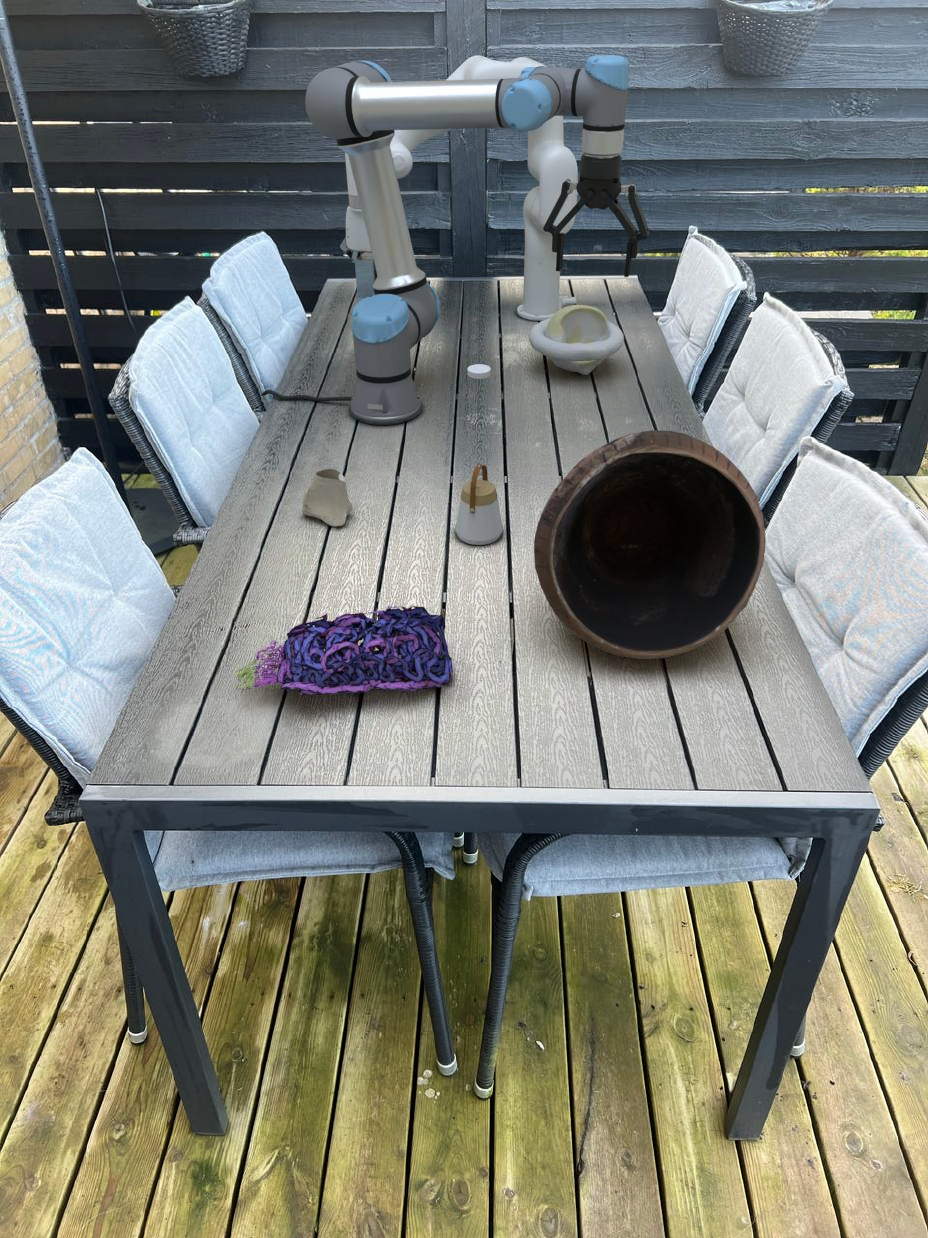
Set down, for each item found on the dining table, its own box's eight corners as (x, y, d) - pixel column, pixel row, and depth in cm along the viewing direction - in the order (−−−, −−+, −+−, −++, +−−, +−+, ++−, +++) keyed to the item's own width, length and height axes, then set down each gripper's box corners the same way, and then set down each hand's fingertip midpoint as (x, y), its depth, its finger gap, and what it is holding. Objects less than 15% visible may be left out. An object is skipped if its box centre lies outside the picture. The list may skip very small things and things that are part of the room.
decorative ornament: (458, 672, 122) (225, 684, 119) (455, 713, 130) (238, 725, 128) (450, 592, 130) (231, 602, 127) (447, 636, 138) (243, 646, 135)
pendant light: (493, 549, 158) (495, 382, 140) (448, 540, 161) (445, 375, 142) (508, 525, 164) (512, 362, 146) (465, 517, 167) (463, 355, 148)
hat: (520, 351, 228) (521, 289, 219) (607, 347, 230) (612, 285, 221) (537, 392, 209) (540, 327, 200) (632, 387, 211) (639, 322, 202)
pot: (569, 390, 148) (614, 390, 119) (739, 473, 153) (822, 494, 124) (483, 572, 154) (505, 616, 125) (649, 647, 159) (708, 705, 130)
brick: (375, 299, 232) (373, 261, 227) (357, 297, 233) (354, 259, 228) (385, 291, 237) (382, 253, 232) (367, 289, 238) (364, 252, 233)
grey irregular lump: (352, 523, 169) (358, 468, 167) (345, 530, 162) (351, 474, 159) (303, 516, 169) (308, 461, 167) (294, 523, 162) (299, 466, 159)
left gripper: (672, 153, 170) (659, 271, 183) (540, 146, 176) (535, 261, 189) (667, 161, 165) (653, 283, 178) (530, 154, 171) (526, 272, 184)
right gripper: (403, 199, 223) (407, 276, 234) (338, 195, 227) (344, 271, 238) (392, 207, 217) (396, 286, 228) (325, 202, 221) (333, 280, 232)
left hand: (592, 272), depth 183 cm, fingers open, 13 cm apart
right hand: (370, 277), depth 233 cm, fingers closed on brick, 4 cm apart
